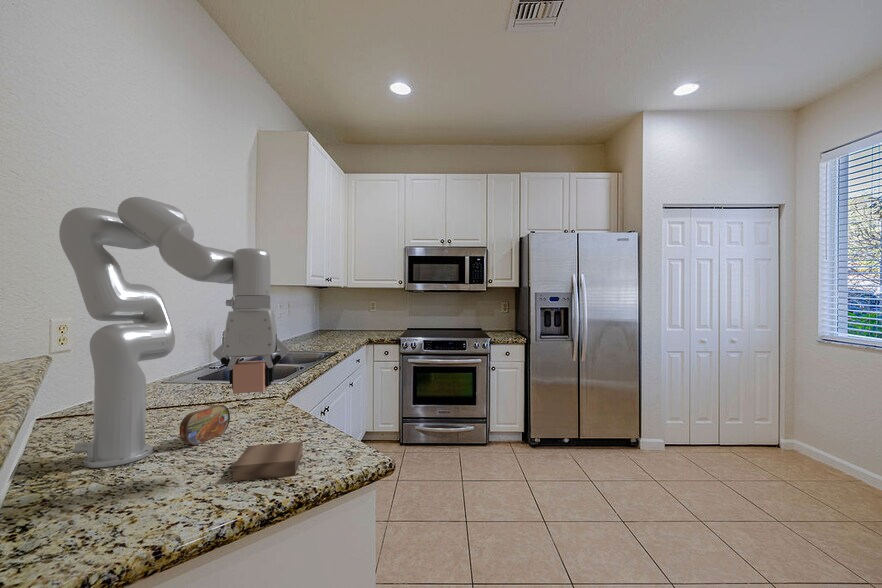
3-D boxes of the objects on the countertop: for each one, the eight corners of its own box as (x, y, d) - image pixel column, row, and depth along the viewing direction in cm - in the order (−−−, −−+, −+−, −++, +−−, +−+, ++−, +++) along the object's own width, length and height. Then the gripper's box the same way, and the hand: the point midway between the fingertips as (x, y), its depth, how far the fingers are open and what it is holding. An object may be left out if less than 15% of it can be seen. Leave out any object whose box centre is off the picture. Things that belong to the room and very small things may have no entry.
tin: (187, 449, 97) (187, 415, 98) (176, 449, 98) (177, 415, 98) (230, 431, 112) (231, 401, 112) (221, 430, 113) (221, 401, 113)
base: (232, 481, 79) (232, 465, 79) (248, 458, 91) (248, 445, 91) (295, 475, 82) (295, 460, 82) (302, 454, 93) (302, 441, 94)
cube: (232, 393, 82) (232, 365, 83) (241, 388, 88) (241, 361, 88) (263, 391, 84) (263, 363, 84) (269, 386, 89) (269, 360, 90)
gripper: (202, 305, 81) (202, 392, 80) (290, 303, 85) (290, 387, 84) (215, 305, 89) (215, 385, 88) (295, 304, 92) (296, 381, 91)
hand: (252, 385), depth 86 cm, fingers closed on cube, 6 cm apart
